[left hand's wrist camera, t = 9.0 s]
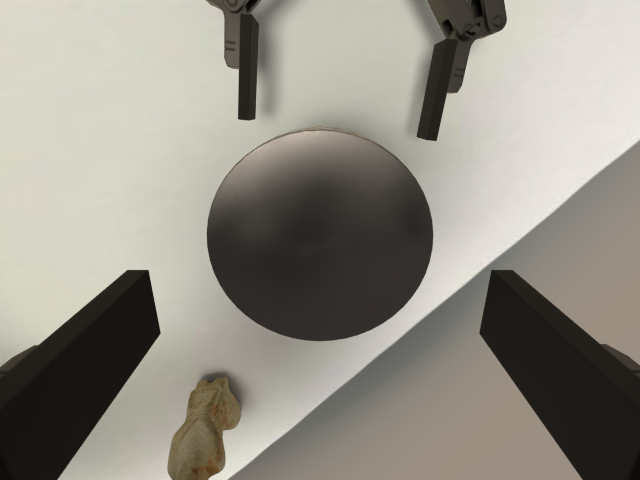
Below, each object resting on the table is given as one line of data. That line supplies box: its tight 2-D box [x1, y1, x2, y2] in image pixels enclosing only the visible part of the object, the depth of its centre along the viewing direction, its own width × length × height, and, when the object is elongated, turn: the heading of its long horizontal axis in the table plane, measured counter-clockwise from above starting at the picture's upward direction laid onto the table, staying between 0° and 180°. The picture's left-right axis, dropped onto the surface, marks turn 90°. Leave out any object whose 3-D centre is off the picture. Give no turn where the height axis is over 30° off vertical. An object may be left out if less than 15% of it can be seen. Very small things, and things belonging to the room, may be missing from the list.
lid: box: [207, 128, 433, 341], centre depth 19 cm, size 12×12×2 cm
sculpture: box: [168, 377, 241, 480], centre depth 36 cm, size 6×7×15 cm
